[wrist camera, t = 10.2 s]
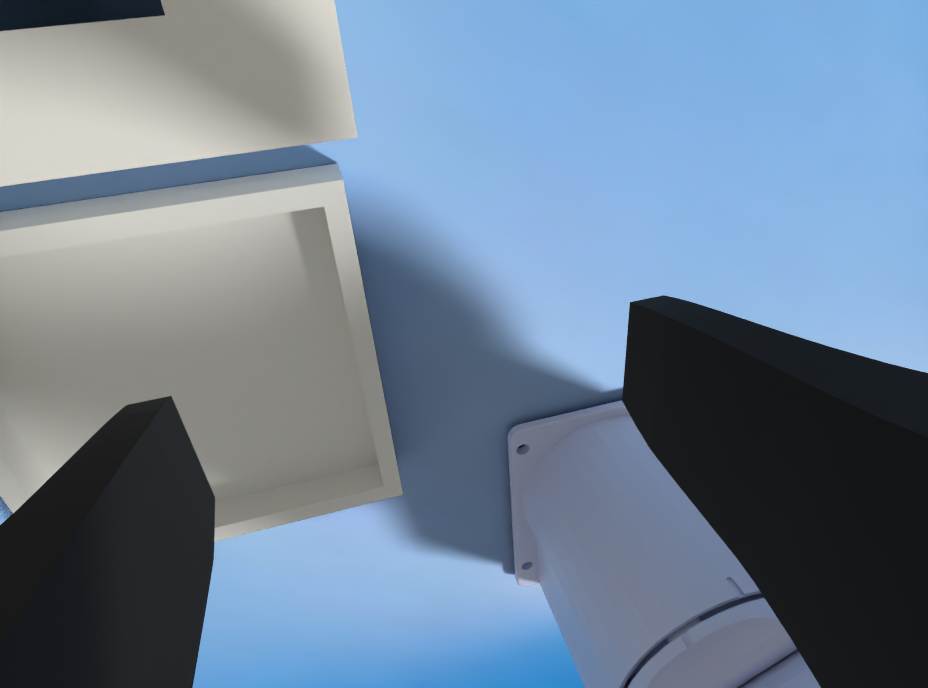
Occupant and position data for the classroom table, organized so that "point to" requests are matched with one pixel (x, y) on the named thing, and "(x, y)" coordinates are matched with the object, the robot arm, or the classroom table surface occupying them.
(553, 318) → the classroom table surface
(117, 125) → the socket block
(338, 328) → the tray
